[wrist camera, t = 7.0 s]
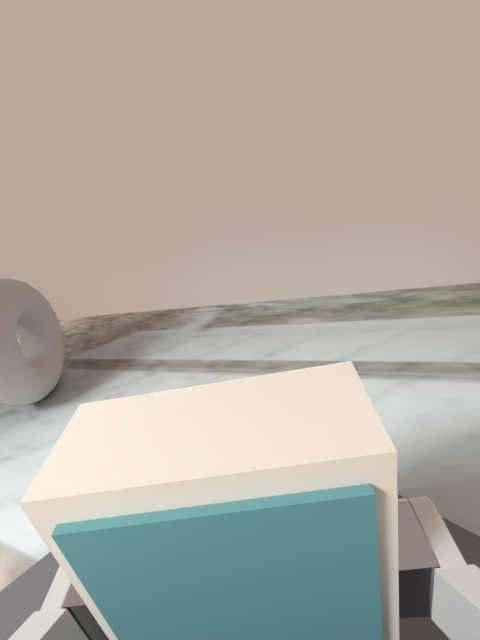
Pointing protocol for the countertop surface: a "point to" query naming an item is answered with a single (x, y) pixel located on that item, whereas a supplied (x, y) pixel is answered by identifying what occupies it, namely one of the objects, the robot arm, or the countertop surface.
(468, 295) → the countertop surface
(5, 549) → the countertop surface
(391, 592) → the card box
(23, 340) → the donut
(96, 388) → the countertop surface
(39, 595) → the mat
